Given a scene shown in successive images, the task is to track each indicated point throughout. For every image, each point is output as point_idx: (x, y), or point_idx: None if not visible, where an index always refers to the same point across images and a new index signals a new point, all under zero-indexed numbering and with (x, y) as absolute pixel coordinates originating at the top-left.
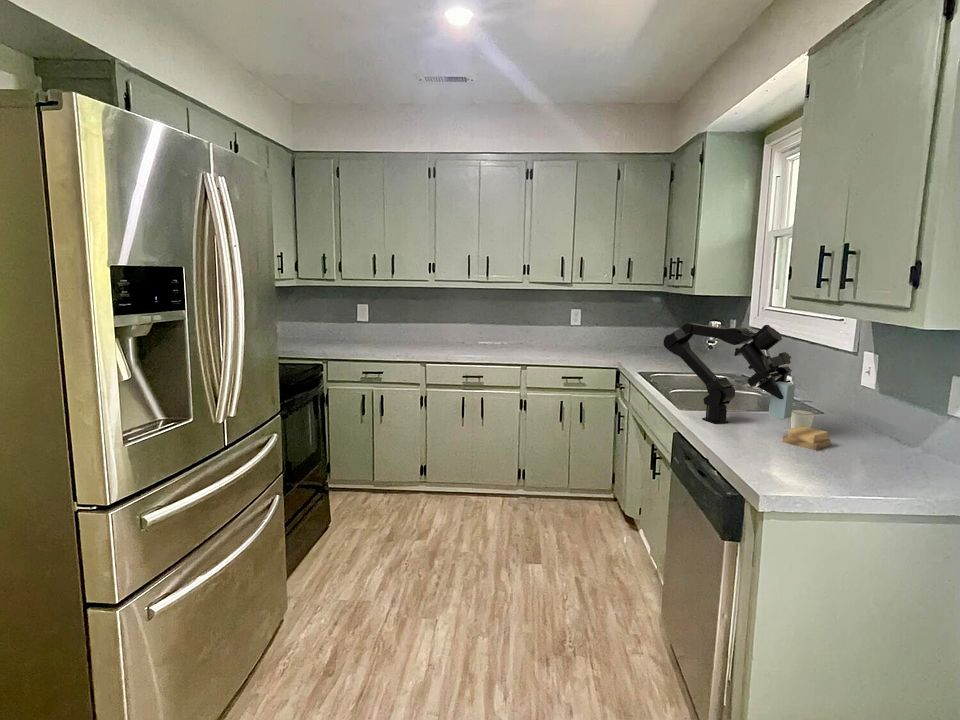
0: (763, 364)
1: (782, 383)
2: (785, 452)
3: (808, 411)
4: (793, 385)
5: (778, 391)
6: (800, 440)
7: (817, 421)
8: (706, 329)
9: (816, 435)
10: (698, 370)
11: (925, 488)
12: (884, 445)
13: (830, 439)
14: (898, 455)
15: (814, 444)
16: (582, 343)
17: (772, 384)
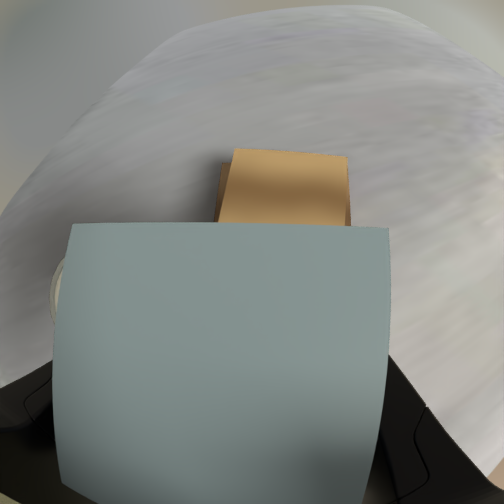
0: None
1: (201, 427)
2: (453, 233)
3: (56, 280)
4: (130, 229)
5: (402, 376)
6: (348, 220)
7: (10, 304)
8: None
9: (329, 156)
10: None
11: (377, 18)
12: (124, 111)
13: (222, 164)
14: (192, 67)
15: (347, 171)
16: None
17: (467, 485)
